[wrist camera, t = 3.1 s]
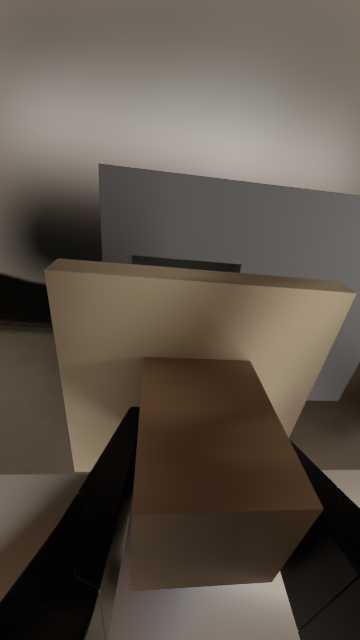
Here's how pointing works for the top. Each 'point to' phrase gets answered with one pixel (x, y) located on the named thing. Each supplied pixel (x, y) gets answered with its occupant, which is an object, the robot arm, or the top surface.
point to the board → (241, 238)
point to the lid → (197, 407)
